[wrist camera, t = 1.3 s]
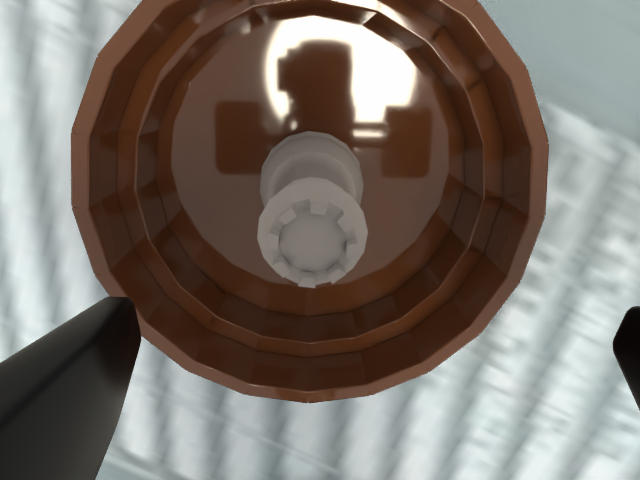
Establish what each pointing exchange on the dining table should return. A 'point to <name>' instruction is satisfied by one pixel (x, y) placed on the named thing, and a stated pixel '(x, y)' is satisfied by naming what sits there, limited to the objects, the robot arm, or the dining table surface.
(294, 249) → the rook chess piece
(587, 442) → the dining table surface
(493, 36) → the bowl
